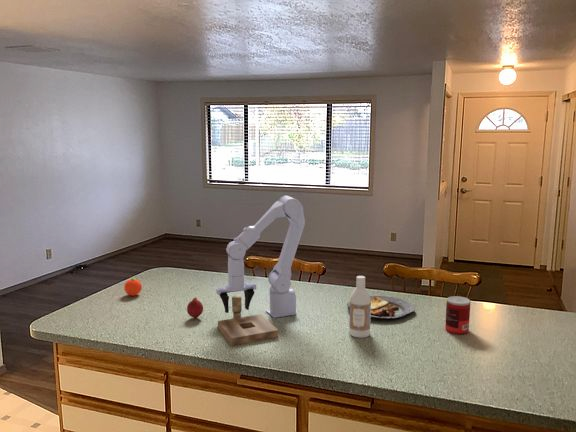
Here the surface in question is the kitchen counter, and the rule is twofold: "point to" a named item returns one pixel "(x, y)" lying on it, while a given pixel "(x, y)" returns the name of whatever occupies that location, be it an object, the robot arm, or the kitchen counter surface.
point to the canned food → (457, 315)
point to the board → (247, 329)
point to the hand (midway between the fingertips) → (236, 310)
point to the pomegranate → (195, 308)
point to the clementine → (133, 287)
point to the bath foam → (360, 310)
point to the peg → (236, 306)
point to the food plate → (388, 307)
